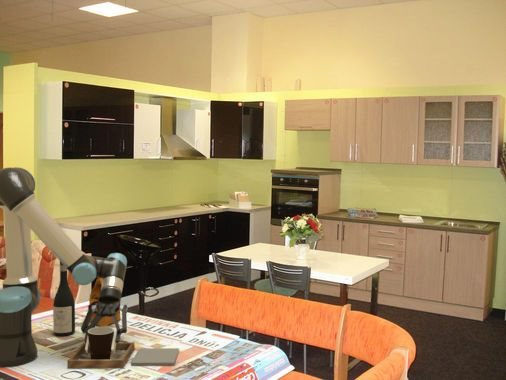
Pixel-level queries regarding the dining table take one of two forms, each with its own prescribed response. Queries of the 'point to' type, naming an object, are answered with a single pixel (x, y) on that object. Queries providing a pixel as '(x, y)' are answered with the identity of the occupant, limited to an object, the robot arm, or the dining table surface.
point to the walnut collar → (105, 363)
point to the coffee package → (94, 300)
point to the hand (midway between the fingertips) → (99, 351)
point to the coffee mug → (100, 342)
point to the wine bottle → (63, 307)
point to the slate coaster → (155, 357)
